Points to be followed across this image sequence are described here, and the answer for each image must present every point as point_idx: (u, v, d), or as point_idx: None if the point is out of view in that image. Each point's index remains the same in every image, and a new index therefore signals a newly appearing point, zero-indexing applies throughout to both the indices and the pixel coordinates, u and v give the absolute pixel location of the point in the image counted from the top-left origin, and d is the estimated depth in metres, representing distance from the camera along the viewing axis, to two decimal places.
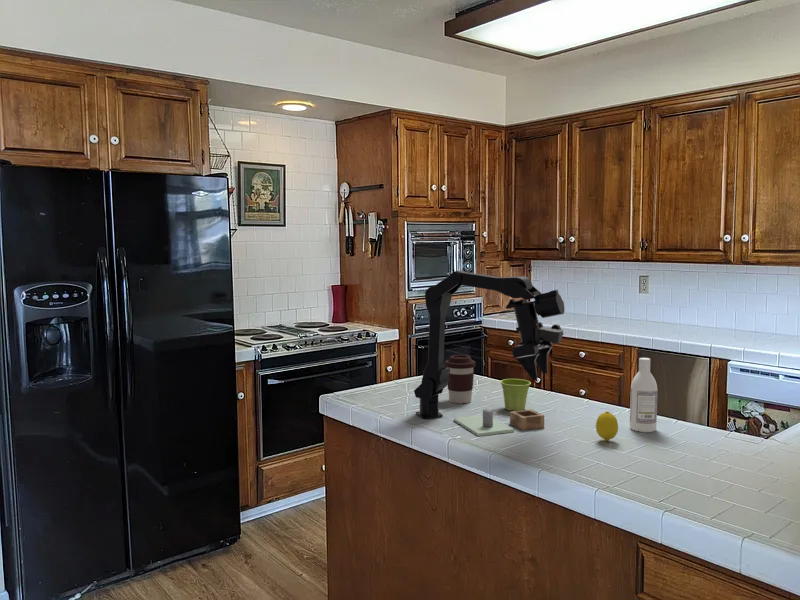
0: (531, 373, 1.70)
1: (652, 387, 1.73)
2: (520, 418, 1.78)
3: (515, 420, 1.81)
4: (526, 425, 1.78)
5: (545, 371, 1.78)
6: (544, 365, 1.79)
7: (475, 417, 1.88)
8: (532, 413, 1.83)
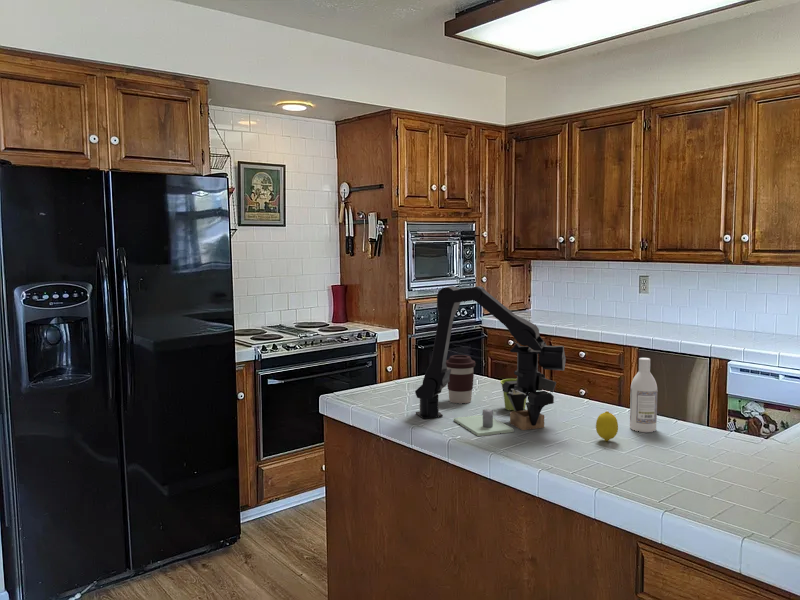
0: (534, 419, 1.77)
1: (652, 387, 1.73)
2: (520, 418, 1.78)
3: (515, 420, 1.81)
4: (526, 425, 1.78)
5: None
6: None
7: (475, 417, 1.88)
8: None
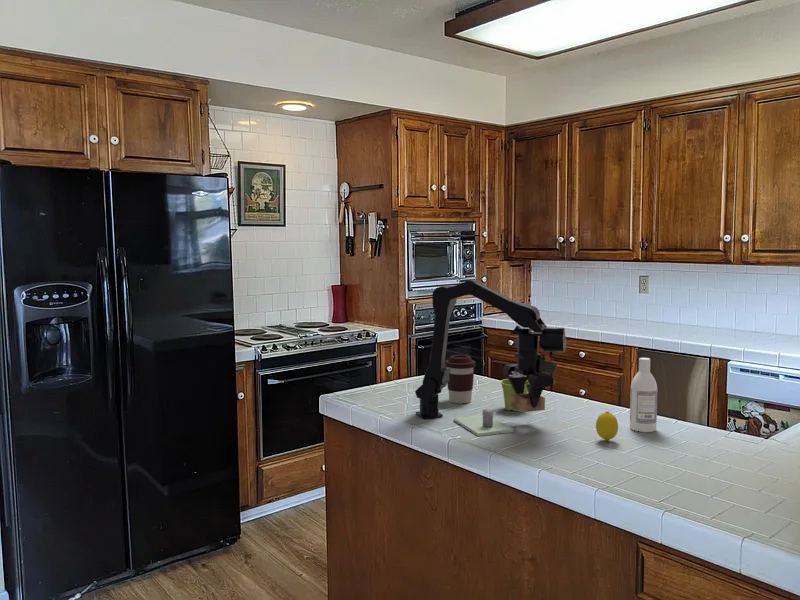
0: (534, 401, 1.77)
1: (652, 387, 1.73)
2: (521, 400, 1.78)
3: (515, 402, 1.81)
4: (527, 407, 1.77)
5: None
6: None
7: (475, 417, 1.88)
8: None
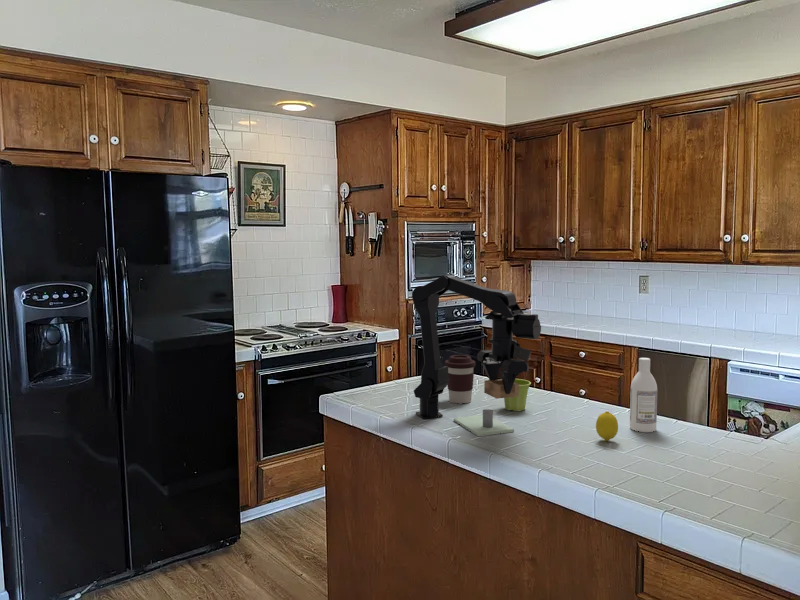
0: (508, 387, 1.75)
1: (652, 387, 1.73)
2: (494, 386, 1.76)
3: (489, 389, 1.78)
4: (500, 393, 1.75)
5: None
6: (496, 379, 1.82)
7: (475, 417, 1.88)
8: None
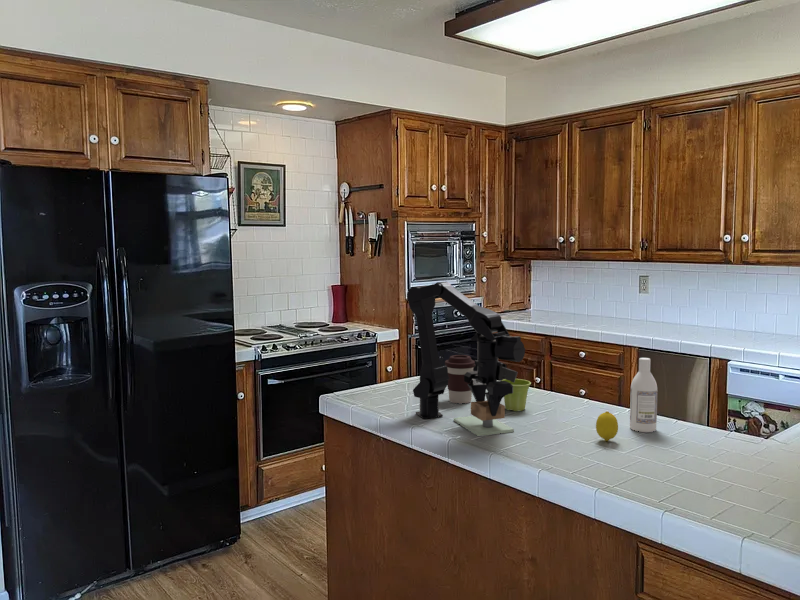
0: (493, 409, 1.74)
1: (652, 387, 1.73)
2: (480, 408, 1.75)
3: (475, 410, 1.78)
4: (486, 415, 1.74)
5: None
6: None
7: (475, 417, 1.88)
8: None
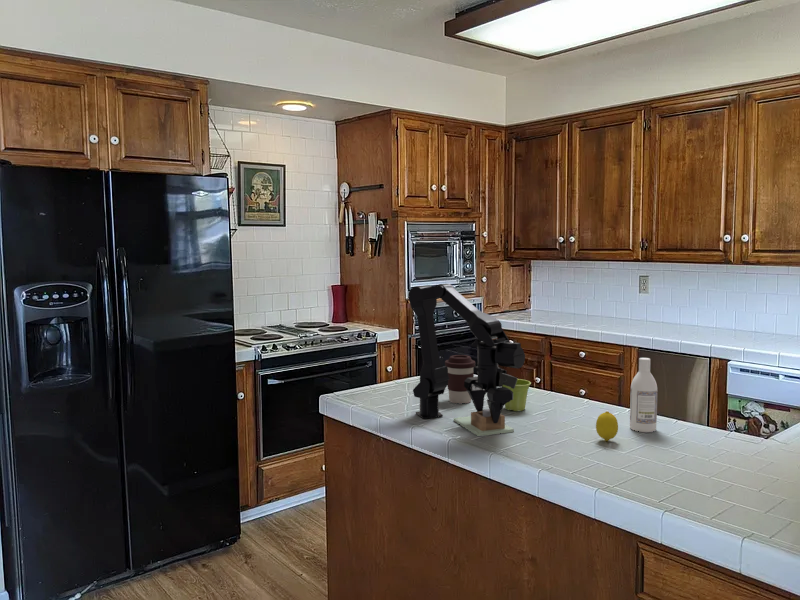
0: (495, 416, 1.73)
1: (652, 387, 1.73)
2: (480, 419, 1.75)
3: (475, 421, 1.78)
4: (486, 426, 1.75)
5: None
6: (481, 406, 1.83)
7: None
8: None
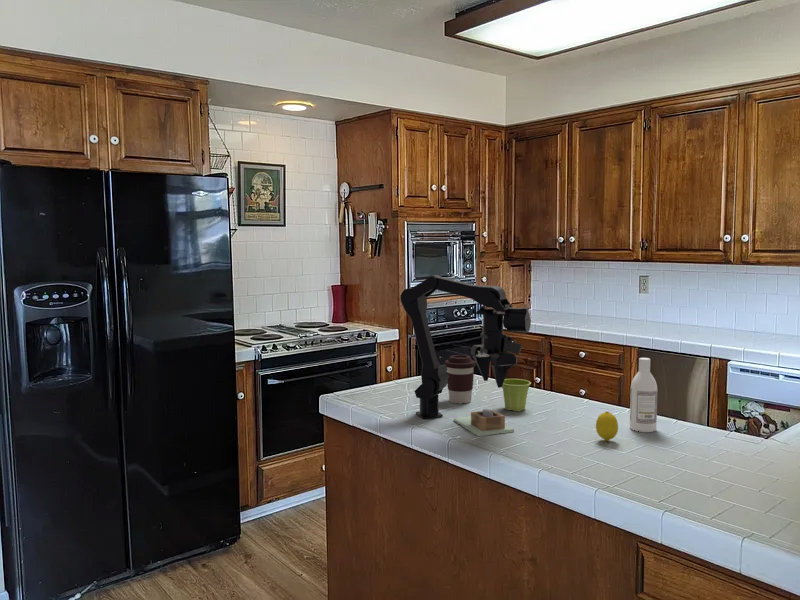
0: (499, 381, 1.78)
1: (652, 387, 1.73)
2: (480, 419, 1.75)
3: (475, 421, 1.78)
4: (486, 426, 1.75)
5: (487, 378, 1.87)
6: (487, 372, 1.87)
7: None
8: (493, 414, 1.80)
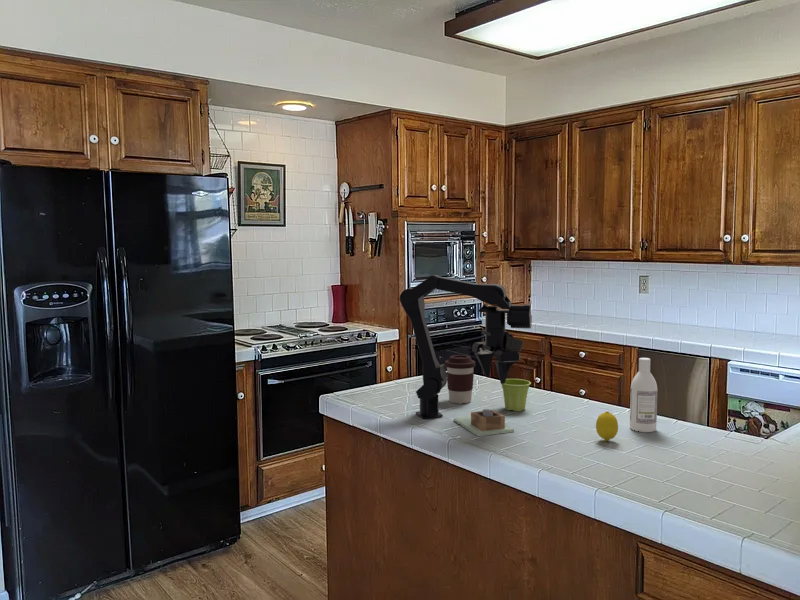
0: (502, 377, 1.81)
1: (652, 387, 1.73)
2: (480, 419, 1.75)
3: (475, 421, 1.78)
4: (486, 426, 1.75)
5: (488, 375, 1.91)
6: (488, 369, 1.90)
7: None
8: (493, 414, 1.80)
